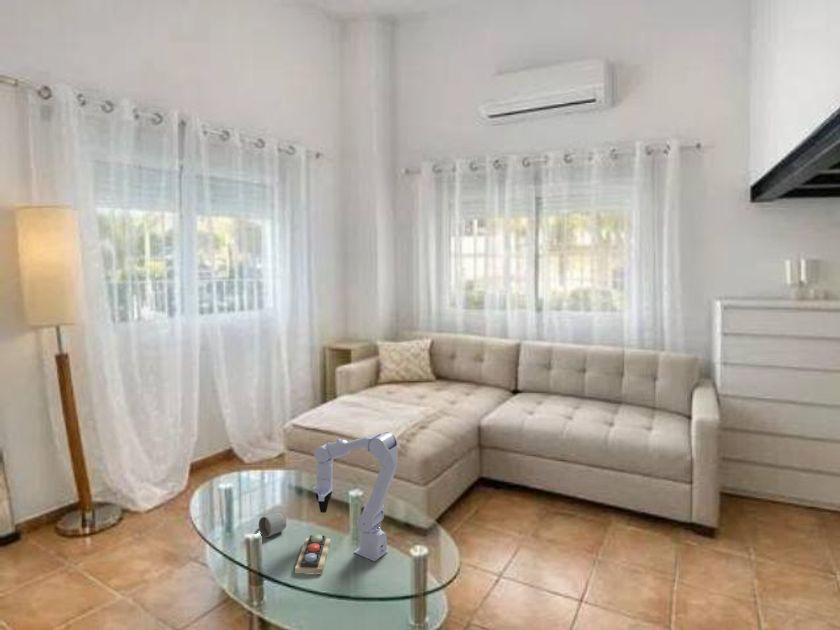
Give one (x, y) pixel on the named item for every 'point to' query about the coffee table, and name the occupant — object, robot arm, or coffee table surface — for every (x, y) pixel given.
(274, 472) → the coffee table surface
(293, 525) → the coffee table surface
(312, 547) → the red button
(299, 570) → the button panel
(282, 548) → the coffee table surface
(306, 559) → the slate blue button
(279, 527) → the ceramic mug
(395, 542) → the coffee table surface
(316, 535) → the sage green button
